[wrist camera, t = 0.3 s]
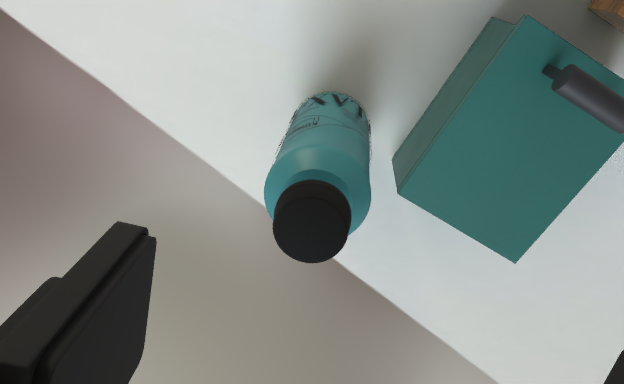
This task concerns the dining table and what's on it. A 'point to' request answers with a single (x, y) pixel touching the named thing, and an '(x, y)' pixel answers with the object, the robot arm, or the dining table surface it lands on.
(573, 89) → the lunchbox lid
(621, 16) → the block
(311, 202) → the beverage bottle
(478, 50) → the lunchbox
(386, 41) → the dining table surface
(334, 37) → the dining table surface
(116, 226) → the robot arm
